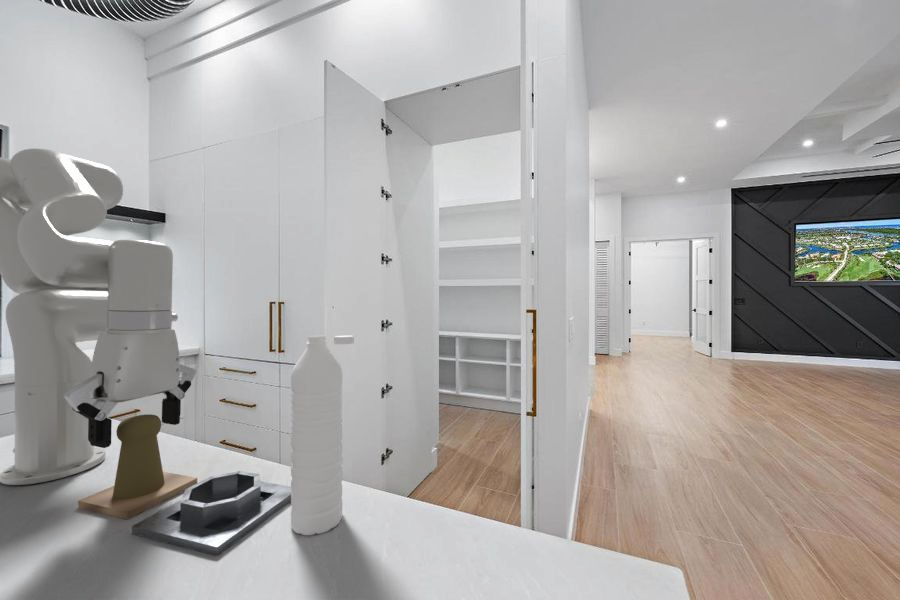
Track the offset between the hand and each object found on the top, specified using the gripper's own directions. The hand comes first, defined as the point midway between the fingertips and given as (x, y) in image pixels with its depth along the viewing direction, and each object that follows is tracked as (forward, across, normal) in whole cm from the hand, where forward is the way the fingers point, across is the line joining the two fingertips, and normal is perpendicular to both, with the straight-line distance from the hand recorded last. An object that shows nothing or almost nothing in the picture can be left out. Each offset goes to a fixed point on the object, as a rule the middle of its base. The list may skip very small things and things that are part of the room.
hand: (138, 433), depth 56 cm
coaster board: (+9, 0, +1) cm, 9 cm away
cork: (+8, 0, +1) cm, 8 cm away
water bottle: (+8, -2, +32) cm, 33 cm away
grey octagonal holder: (+9, 0, +17) cm, 19 cm away
